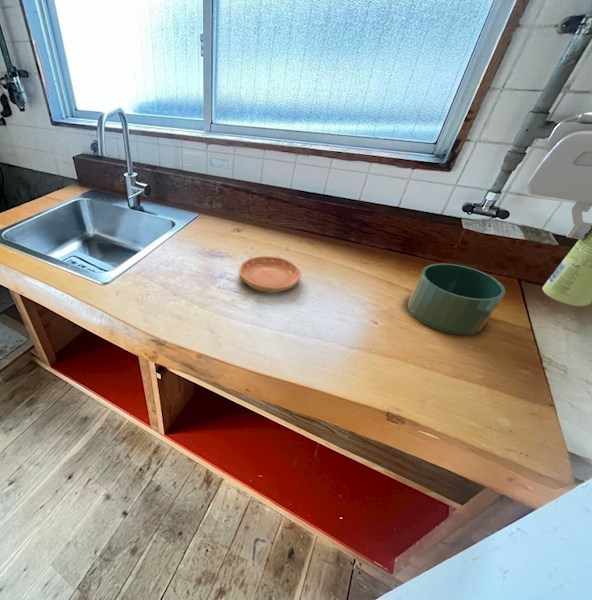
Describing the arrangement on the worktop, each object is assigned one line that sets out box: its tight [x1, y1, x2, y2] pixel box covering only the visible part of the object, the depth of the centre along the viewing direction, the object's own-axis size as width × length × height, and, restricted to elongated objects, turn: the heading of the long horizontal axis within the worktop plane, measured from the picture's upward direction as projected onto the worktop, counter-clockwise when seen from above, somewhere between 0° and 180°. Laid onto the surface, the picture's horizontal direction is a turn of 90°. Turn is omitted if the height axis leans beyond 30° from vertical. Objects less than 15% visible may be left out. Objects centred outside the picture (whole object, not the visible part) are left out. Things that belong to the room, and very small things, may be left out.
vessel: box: [407, 262, 506, 336], centre depth 70 cm, size 14×14×9 cm
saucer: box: [238, 255, 302, 294], centre depth 86 cm, size 16×16×3 cm
